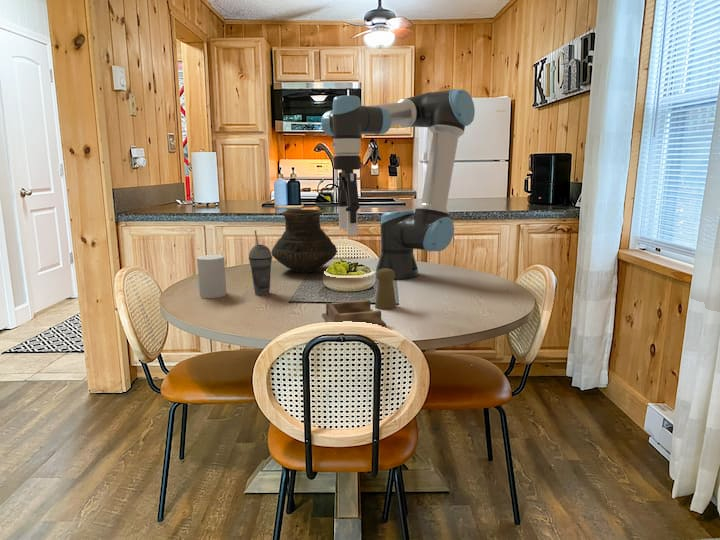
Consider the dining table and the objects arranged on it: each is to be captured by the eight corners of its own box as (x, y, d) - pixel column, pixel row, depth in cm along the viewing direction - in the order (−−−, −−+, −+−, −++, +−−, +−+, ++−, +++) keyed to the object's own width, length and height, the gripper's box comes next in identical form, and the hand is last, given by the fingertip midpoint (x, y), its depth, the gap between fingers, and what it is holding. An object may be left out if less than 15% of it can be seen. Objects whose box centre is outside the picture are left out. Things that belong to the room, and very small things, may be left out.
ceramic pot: (284, 263, 208) (282, 207, 203) (342, 264, 204) (341, 208, 199) (263, 276, 184) (260, 214, 180) (328, 278, 180) (327, 215, 176)
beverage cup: (268, 296, 157) (265, 232, 153) (246, 295, 159) (242, 231, 154) (277, 291, 164) (274, 229, 160) (255, 290, 166) (252, 228, 161)
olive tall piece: (373, 304, 148) (373, 267, 146) (394, 303, 149) (394, 266, 146) (376, 310, 142) (376, 271, 140) (397, 309, 143) (398, 270, 141)
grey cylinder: (231, 292, 163) (229, 255, 160) (214, 299, 155) (211, 260, 153) (211, 290, 166) (209, 254, 163) (193, 296, 159) (190, 258, 156)
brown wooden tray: (372, 311, 141) (371, 298, 140) (385, 325, 129) (385, 312, 128) (321, 315, 138) (321, 302, 137) (331, 331, 125) (330, 316, 125)
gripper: (327, 155, 152) (328, 226, 156) (341, 154, 128) (342, 238, 133) (351, 155, 153) (352, 225, 158) (370, 154, 130) (370, 237, 134)
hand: (348, 231), depth 145 cm, fingers open, 13 cm apart
